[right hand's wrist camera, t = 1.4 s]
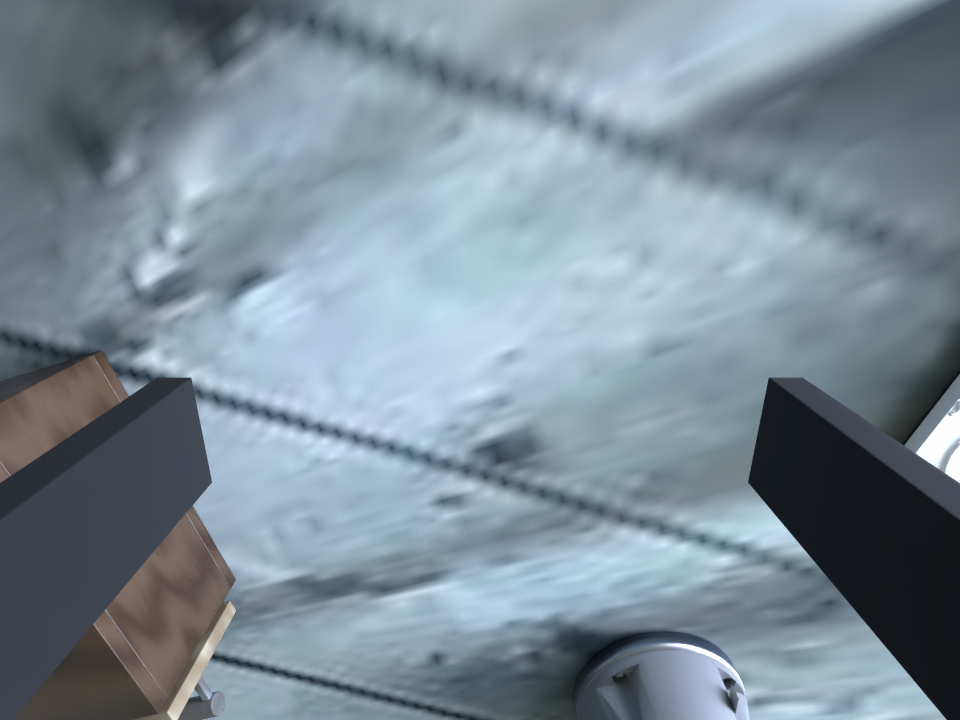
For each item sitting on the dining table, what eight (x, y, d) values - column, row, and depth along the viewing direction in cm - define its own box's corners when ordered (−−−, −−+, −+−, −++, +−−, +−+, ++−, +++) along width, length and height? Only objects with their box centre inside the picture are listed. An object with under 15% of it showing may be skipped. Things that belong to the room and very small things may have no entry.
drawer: (263, 656, 48) (212, 775, 39) (163, 679, 49) (90, 801, 40) (111, 402, 39) (-2, 477, 30) (-7, 437, 40) (-151, 520, 31)
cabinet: (236, 579, 46) (158, 714, 35) (120, 609, 47) (10, 748, 36) (101, 349, 39) (-50, 427, 28) (-31, 390, 40) (-228, 481, 29)
